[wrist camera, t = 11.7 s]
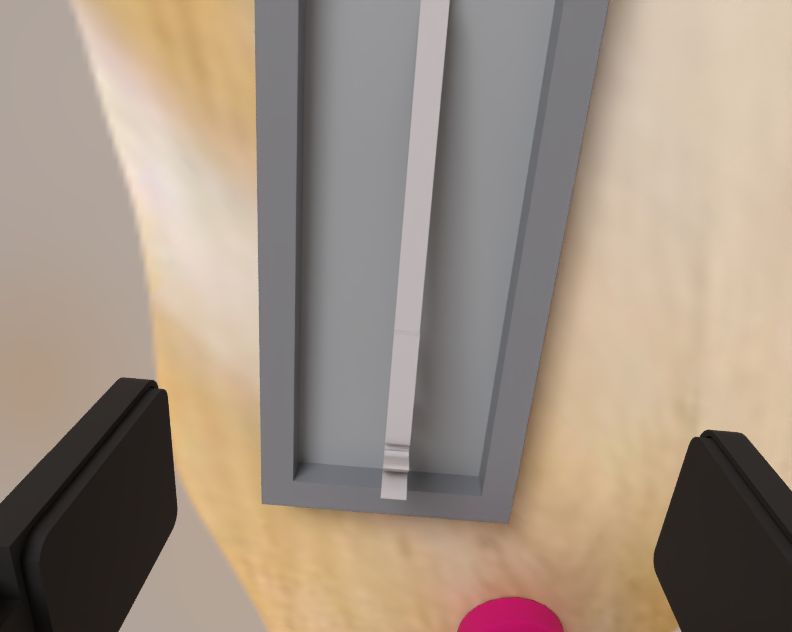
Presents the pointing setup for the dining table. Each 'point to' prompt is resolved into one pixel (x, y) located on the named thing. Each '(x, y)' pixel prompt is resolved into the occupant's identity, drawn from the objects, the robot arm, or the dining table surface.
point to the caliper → (414, 243)
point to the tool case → (382, 233)
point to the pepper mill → (511, 617)
